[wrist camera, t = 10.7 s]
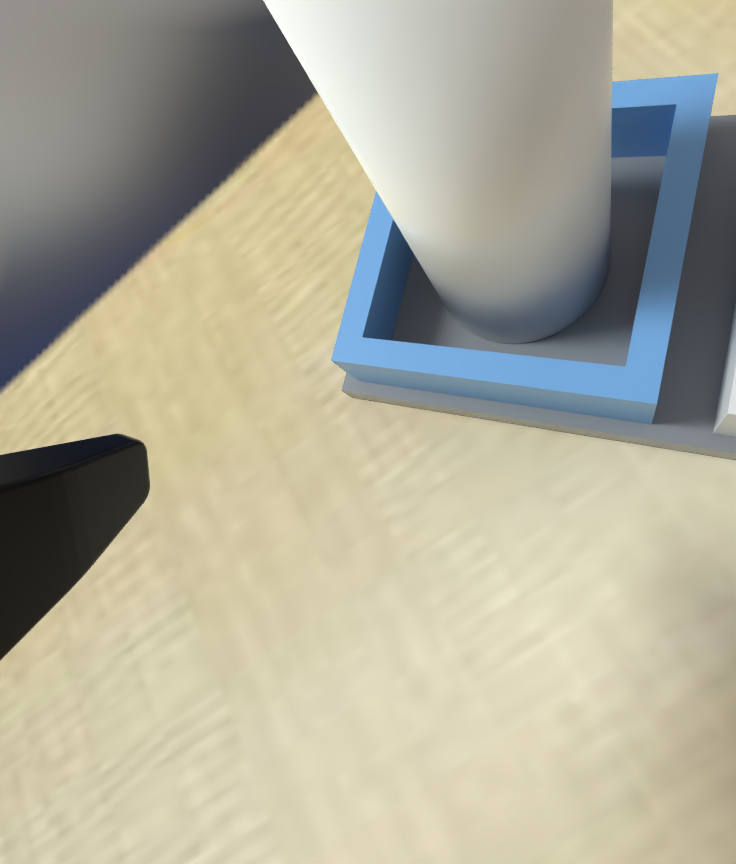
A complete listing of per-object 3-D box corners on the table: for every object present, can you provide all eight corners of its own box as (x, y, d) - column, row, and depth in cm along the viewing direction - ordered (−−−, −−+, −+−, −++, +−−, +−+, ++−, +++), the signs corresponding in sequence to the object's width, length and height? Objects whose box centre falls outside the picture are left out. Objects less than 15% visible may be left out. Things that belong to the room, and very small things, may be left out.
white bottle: (579, 360, 16) (501, -240, 4) (417, 325, 18) (71, -137, 6) (633, 199, 16) (696, -739, 5) (469, 183, 19) (235, -487, 7)
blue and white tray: (1257, 112, 12) (1421, -5, 10) (1238, 541, 11) (1420, 532, 9) (416, 148, 21) (389, 88, 18) (351, 397, 19) (312, 371, 17)
